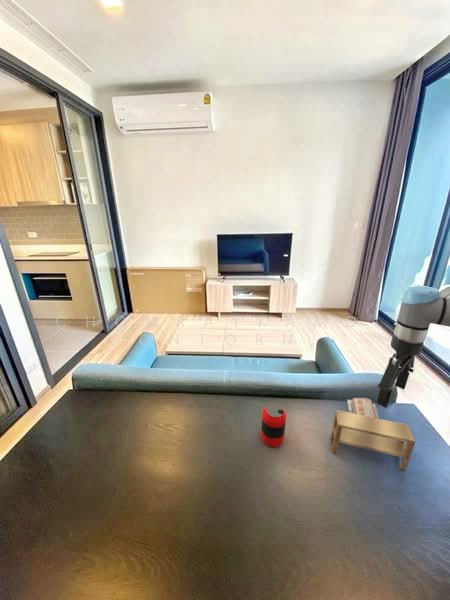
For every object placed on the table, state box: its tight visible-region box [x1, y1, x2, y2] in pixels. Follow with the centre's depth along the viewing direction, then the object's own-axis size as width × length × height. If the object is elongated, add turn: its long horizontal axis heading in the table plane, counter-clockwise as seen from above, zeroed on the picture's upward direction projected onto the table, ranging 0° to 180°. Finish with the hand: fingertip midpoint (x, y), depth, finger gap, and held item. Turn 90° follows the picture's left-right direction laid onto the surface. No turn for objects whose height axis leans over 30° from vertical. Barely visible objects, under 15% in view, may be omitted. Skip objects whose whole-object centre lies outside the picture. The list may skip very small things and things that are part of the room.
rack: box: [330, 409, 416, 472], centre depth 77 cm, size 20×6×12 cm, turn 73°
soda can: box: [260, 403, 287, 448], centre depth 82 cm, size 8×8×12 cm
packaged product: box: [346, 397, 380, 419], centre depth 90 cm, size 18×5×10 cm
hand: (391, 395), depth 81 cm, fingers open, 13 cm apart
